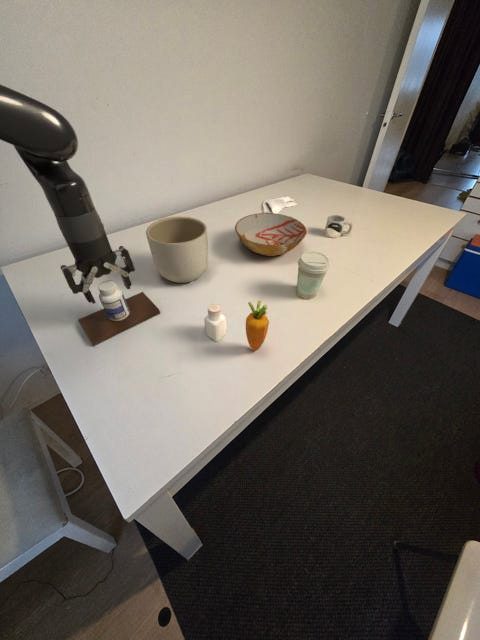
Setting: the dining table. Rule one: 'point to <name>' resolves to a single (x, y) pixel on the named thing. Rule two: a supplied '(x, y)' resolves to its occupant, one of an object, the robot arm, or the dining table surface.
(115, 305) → the pill bottle
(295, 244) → the bowl
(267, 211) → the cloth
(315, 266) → the coffee cup
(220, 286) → the dining table surface
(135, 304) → the board
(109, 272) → the robot arm
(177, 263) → the planter
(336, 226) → the mug
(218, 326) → the pepper shaker
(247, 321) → the carrot
